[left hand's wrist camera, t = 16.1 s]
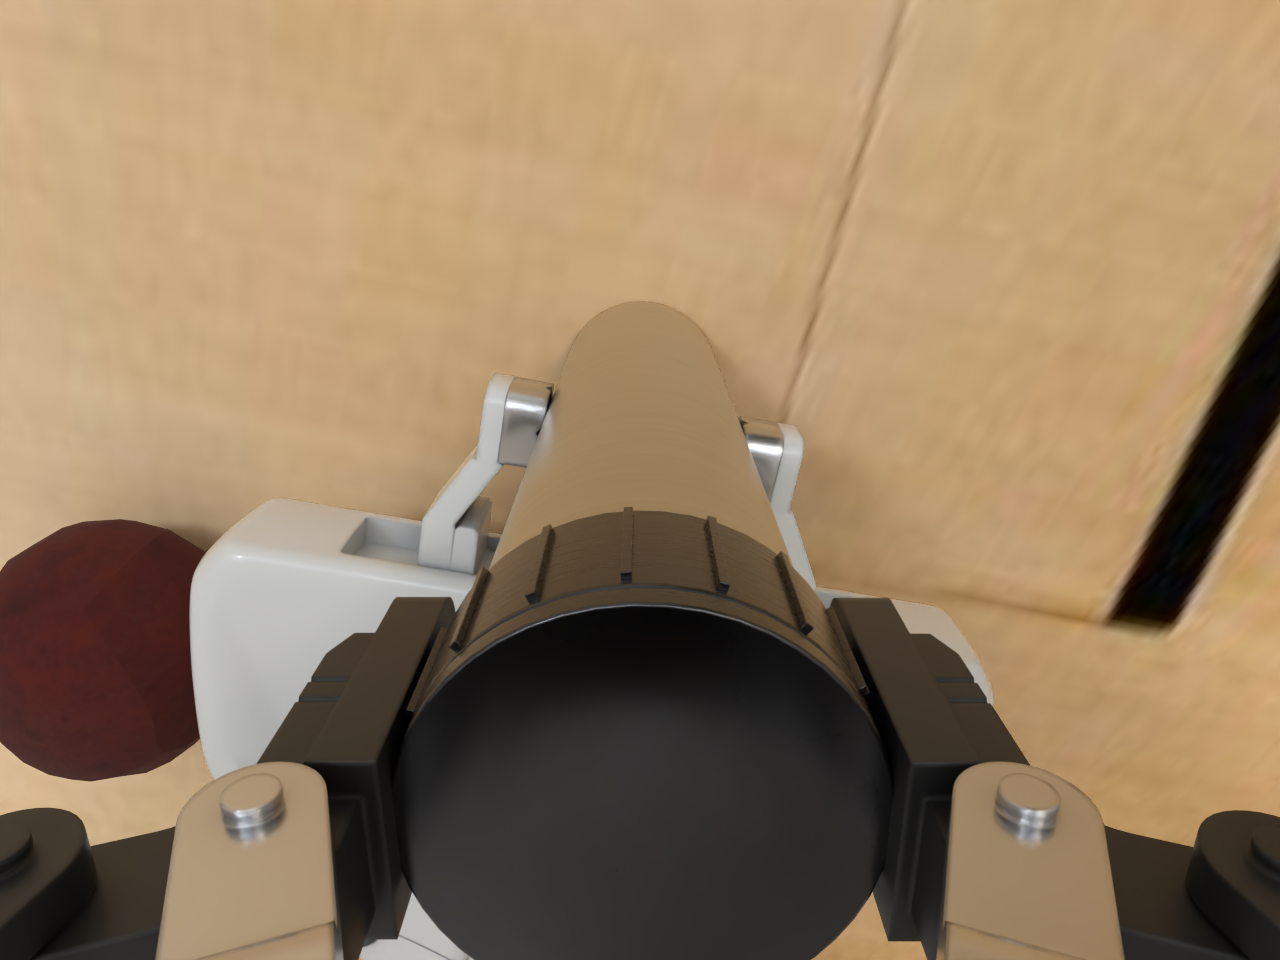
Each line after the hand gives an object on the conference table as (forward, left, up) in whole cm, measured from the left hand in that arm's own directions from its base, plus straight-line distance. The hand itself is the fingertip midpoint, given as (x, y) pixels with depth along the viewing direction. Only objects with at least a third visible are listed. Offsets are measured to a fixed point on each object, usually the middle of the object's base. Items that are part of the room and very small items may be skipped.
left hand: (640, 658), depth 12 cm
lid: (0, 0, +3) cm, 3 cm away
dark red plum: (+17, +5, -17) cm, 24 cm away
